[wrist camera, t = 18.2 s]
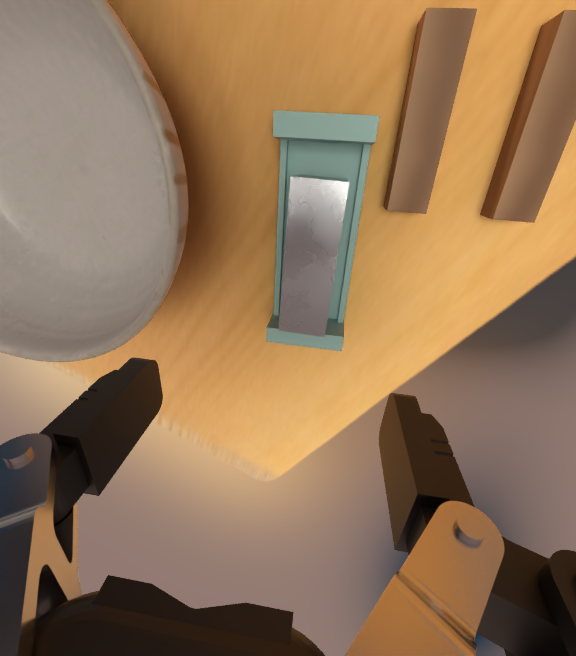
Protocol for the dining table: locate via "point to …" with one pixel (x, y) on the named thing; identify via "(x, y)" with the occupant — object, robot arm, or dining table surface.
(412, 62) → the slotted beam
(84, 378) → the dining table surface
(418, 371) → the dining table surface
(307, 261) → the grey rectangular block
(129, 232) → the decorative bowl
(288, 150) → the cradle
